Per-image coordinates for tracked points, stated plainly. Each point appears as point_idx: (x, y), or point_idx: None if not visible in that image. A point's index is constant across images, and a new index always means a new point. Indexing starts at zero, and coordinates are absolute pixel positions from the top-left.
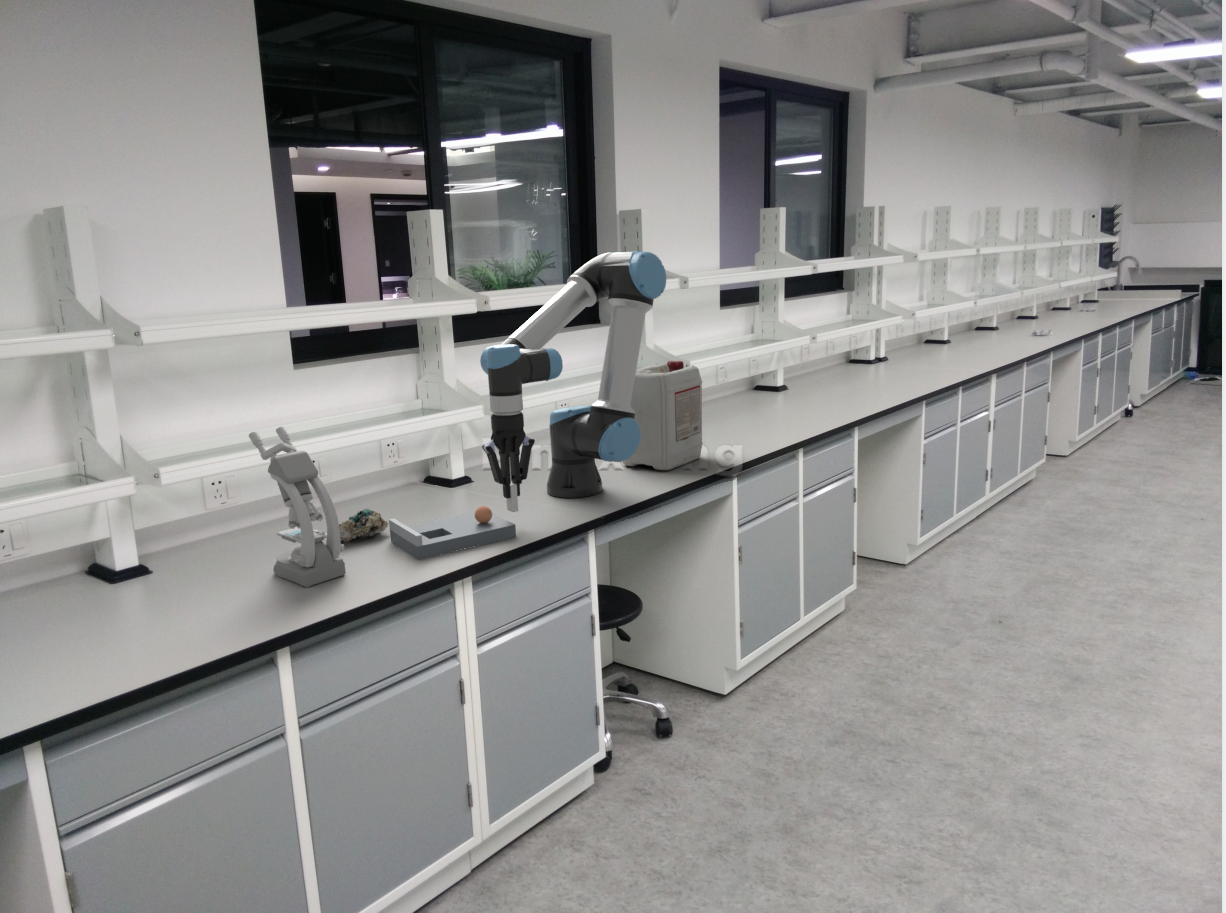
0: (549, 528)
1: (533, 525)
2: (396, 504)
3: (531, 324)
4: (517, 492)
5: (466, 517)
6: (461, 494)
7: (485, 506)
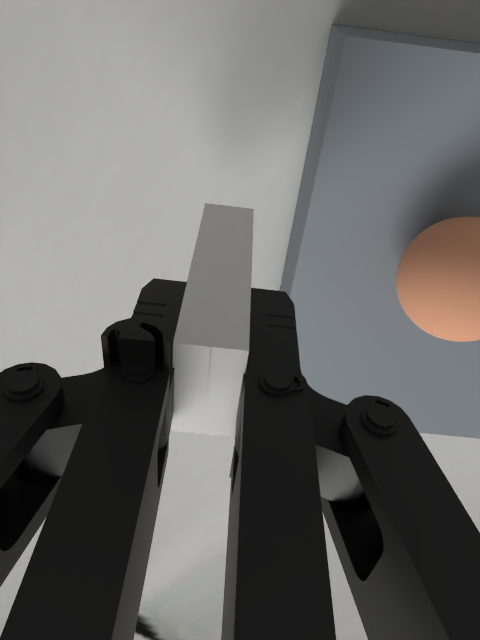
0: (45, 5)
1: (108, 155)
2: (333, 607)
3: None
4: (167, 302)
5: (409, 384)
6: (146, 579)
7: (465, 308)
